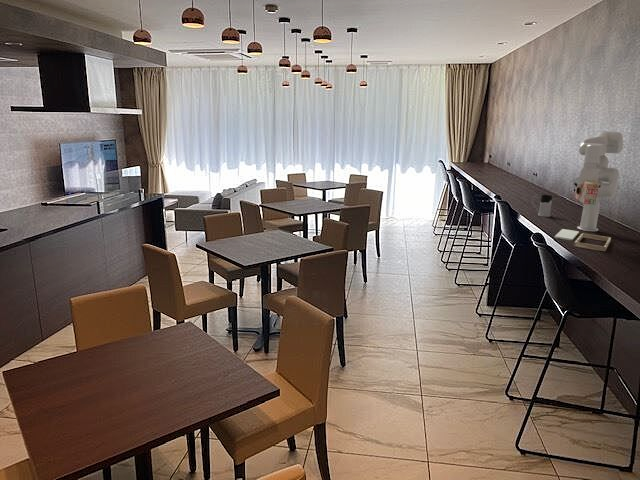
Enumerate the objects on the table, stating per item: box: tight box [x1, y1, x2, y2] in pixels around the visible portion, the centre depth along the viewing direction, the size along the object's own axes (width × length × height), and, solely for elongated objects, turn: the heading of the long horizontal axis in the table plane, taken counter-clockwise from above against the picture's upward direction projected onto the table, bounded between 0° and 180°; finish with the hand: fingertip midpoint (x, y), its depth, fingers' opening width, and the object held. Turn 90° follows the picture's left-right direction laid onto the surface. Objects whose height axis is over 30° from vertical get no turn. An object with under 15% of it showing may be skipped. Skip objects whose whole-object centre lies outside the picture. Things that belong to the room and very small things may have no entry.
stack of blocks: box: [574, 181, 599, 205], centre depth 299 cm, size 21×6×12 cm, turn 168°
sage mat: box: [554, 228, 580, 241], centre depth 315 cm, size 26×10×1 cm, turn 145°
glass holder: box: [531, 194, 553, 218], centre depth 375 cm, size 9×14×15 cm, turn 57°
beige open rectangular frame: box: [573, 233, 612, 252], centre depth 296 cm, size 29×16×2 cm, turn 145°
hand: (585, 194), depth 300 cm, fingers closed on stack of blocks, 7 cm apart
